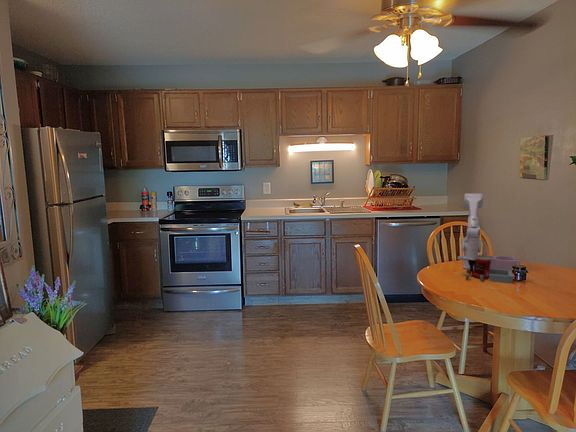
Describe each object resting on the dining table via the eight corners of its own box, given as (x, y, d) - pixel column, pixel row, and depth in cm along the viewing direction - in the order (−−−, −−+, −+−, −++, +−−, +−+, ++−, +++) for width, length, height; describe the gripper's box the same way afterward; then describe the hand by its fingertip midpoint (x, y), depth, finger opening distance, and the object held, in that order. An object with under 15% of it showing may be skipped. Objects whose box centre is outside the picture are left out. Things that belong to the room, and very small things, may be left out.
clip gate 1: (466, 271, 230) (466, 266, 230) (469, 271, 229) (469, 267, 229) (465, 279, 213) (465, 275, 213) (468, 280, 212) (468, 275, 212)
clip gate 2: (480, 272, 227) (480, 268, 227) (483, 272, 226) (483, 268, 226) (479, 281, 210) (480, 276, 210) (483, 281, 209) (483, 277, 209)
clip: (480, 270, 232) (480, 258, 231) (480, 265, 243) (481, 254, 242) (520, 274, 223) (520, 262, 222) (518, 268, 234) (519, 257, 233)
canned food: (485, 275, 221) (488, 255, 219) (490, 279, 213) (493, 259, 211) (471, 273, 222) (473, 254, 221) (475, 278, 215) (477, 258, 213)
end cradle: (488, 274, 223) (488, 268, 222) (510, 276, 218) (511, 270, 218) (489, 280, 211) (489, 274, 210) (512, 283, 206) (512, 276, 206)
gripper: (457, 249, 218) (456, 274, 220) (487, 252, 212) (486, 277, 213) (458, 247, 224) (457, 271, 226) (487, 249, 218) (486, 273, 219)
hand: (471, 273), depth 220 cm, fingers closed, pressing on canned food
